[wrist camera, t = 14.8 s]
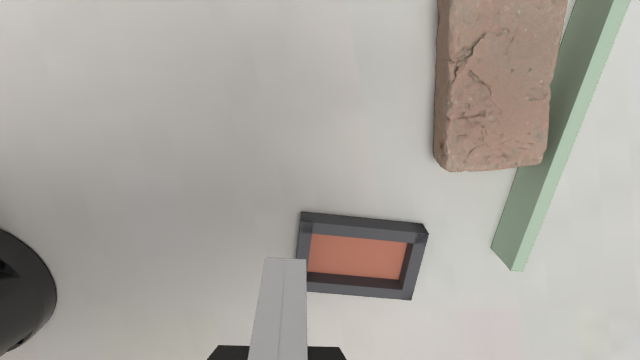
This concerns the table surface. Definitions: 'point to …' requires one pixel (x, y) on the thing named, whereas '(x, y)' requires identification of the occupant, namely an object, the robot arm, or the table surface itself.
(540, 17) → the brick
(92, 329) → the table surface
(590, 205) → the table surface
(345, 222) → the trap pits
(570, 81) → the sage end wall
